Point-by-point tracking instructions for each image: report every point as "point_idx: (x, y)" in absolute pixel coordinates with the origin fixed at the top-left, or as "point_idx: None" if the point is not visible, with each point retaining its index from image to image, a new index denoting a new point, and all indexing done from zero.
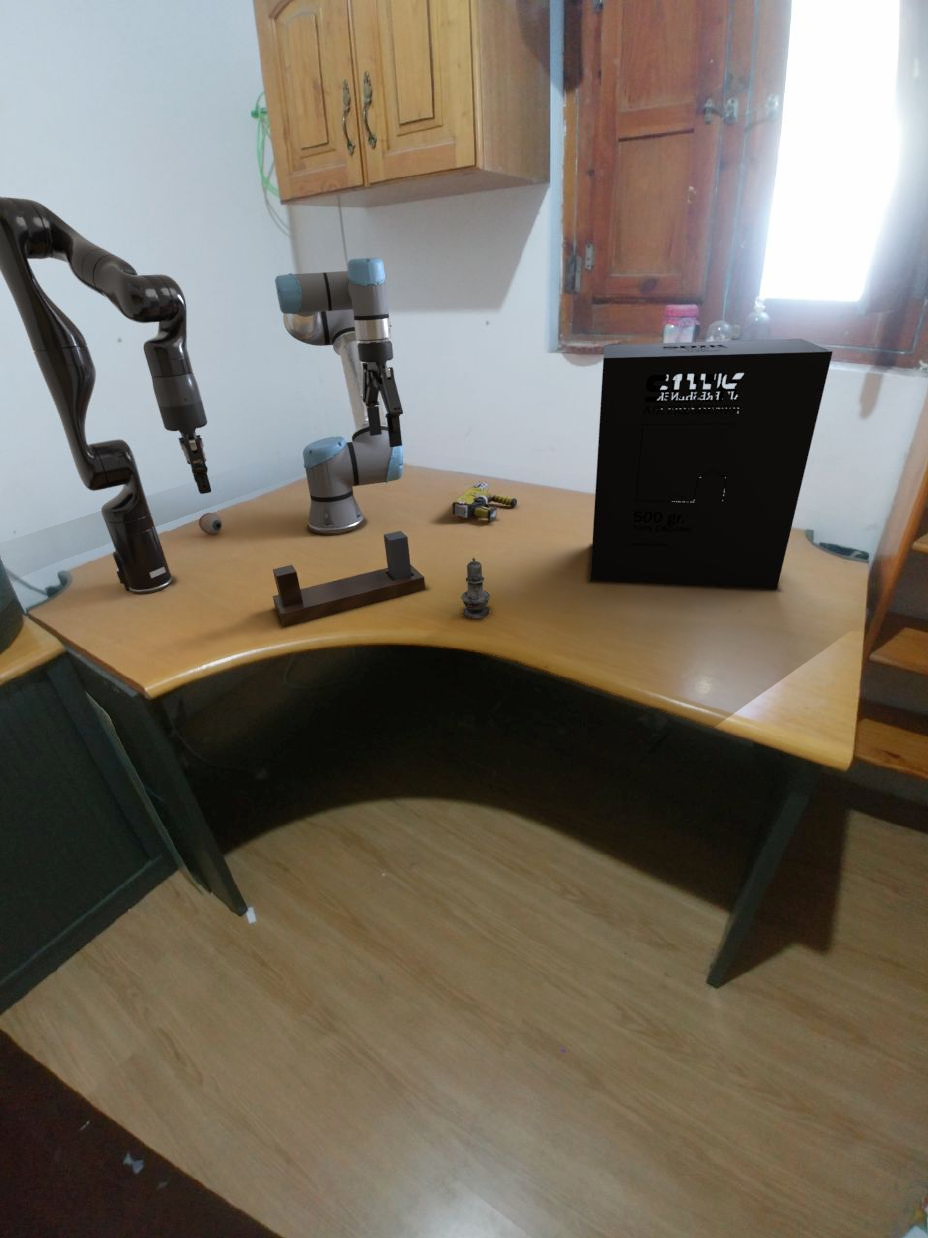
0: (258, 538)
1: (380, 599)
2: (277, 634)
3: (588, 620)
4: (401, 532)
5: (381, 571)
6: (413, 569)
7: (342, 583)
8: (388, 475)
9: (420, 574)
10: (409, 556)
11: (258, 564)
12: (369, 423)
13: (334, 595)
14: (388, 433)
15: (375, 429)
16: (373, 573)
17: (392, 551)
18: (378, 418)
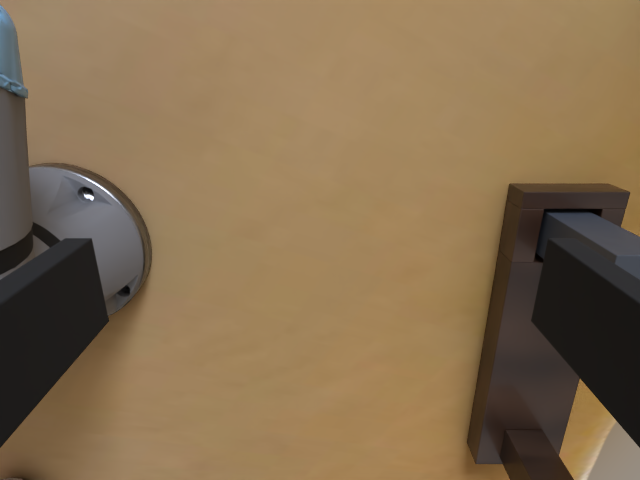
0: (89, 415)
1: None
2: None
3: None
4: (632, 259)
5: (523, 268)
6: (572, 198)
7: (519, 354)
8: (26, 89)
9: (611, 194)
10: (629, 232)
11: (247, 436)
12: (44, 384)
13: (559, 379)
14: (591, 386)
15: (78, 308)
16: (520, 286)
17: None
18: (3, 322)
